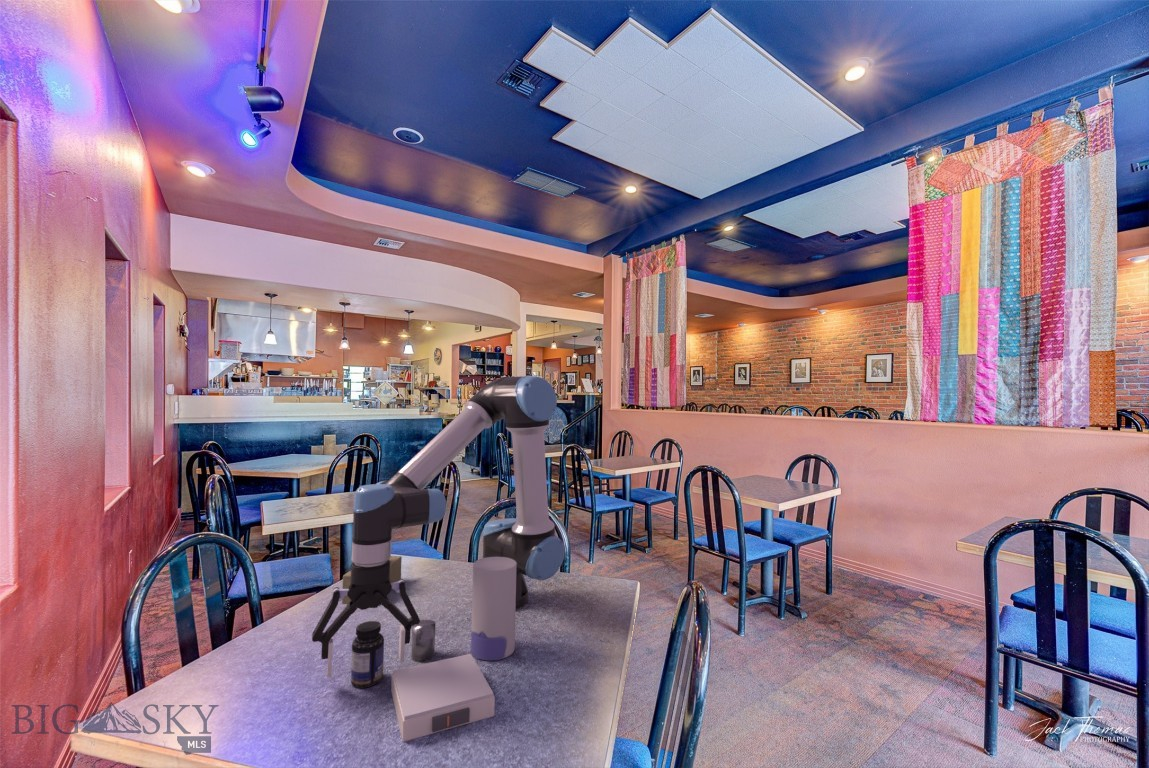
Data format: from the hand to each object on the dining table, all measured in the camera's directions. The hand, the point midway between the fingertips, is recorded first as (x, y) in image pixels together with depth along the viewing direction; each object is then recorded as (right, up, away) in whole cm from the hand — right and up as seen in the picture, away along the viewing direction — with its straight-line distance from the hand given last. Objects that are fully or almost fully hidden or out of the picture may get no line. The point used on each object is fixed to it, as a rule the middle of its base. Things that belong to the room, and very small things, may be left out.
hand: (366, 666), depth 100 cm
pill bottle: (0, -3, 0) cm, 3 cm away
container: (+24, -4, +13) cm, 27 cm away
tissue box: (-18, -5, +46) cm, 49 cm away
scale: (+17, -3, -7) cm, 19 cm away
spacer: (+8, -3, +10) cm, 14 cm away
